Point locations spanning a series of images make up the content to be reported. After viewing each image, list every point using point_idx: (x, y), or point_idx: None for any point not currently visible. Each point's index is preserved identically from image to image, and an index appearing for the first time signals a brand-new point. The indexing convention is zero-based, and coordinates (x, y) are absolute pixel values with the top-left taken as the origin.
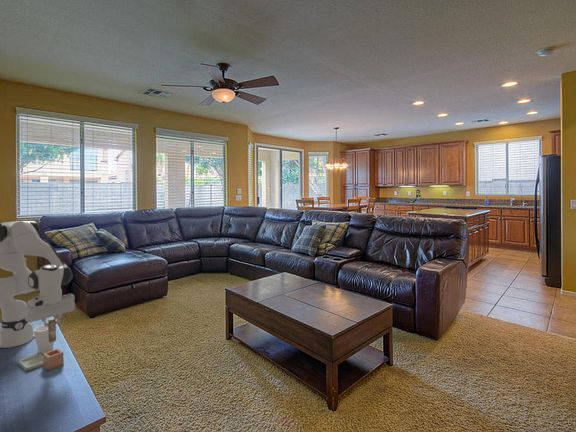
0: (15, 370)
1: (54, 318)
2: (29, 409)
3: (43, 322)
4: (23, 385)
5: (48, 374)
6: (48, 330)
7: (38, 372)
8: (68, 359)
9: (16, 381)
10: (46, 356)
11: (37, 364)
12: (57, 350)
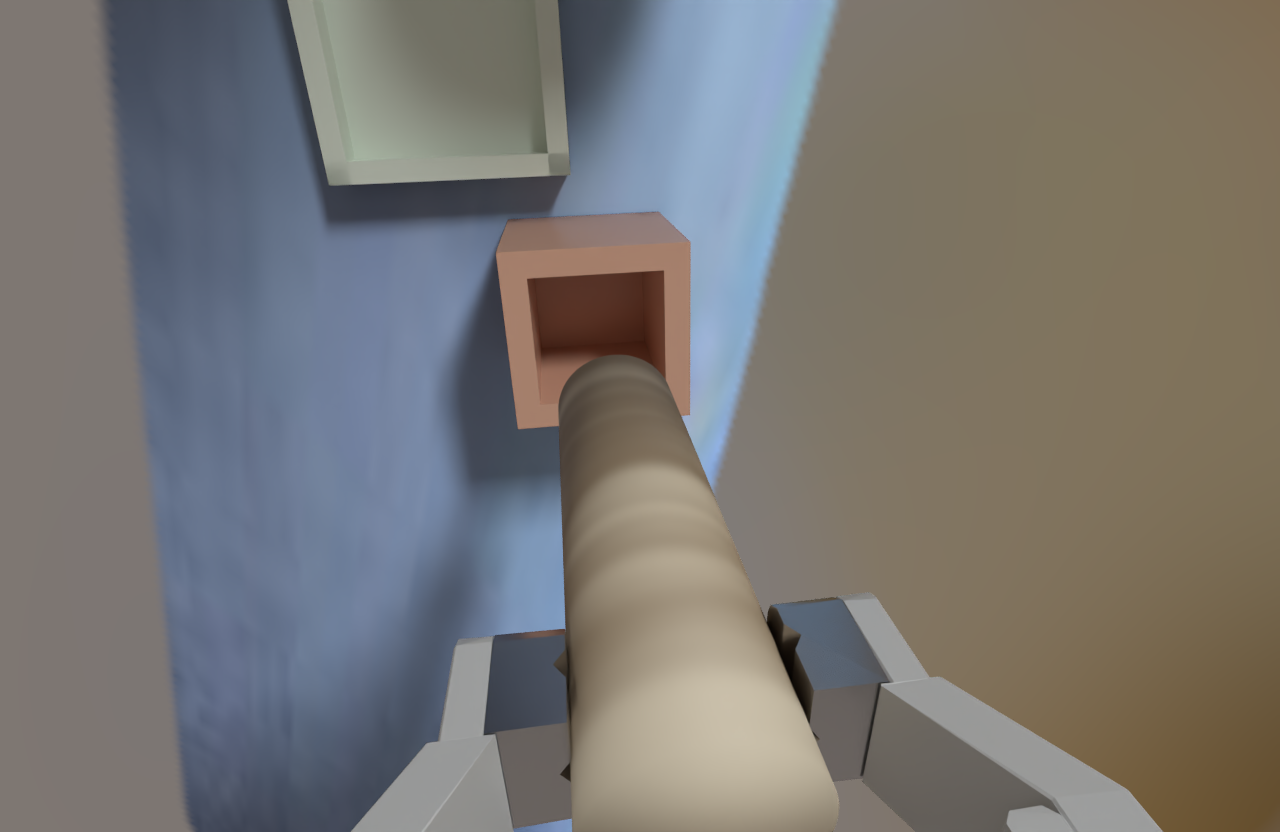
0: (226, 13)
1: (827, 788)
2: (317, 772)
3: (412, 761)
4: (298, 458)
5: (507, 422)
6: (563, 548)
7: (442, 306)
8: (743, 252)
9: (241, 331)
10: (511, 375)
11: (449, 179)
12: (664, 298)
